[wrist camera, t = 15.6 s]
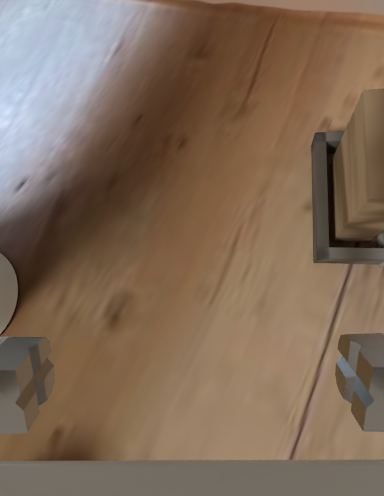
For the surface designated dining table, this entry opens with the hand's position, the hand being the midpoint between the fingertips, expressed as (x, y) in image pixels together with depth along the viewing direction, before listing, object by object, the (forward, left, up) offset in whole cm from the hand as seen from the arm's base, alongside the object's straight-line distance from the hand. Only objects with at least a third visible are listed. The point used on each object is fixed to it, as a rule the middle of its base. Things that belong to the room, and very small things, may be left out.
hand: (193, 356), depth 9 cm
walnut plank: (+12, +16, -32) cm, 38 cm away
